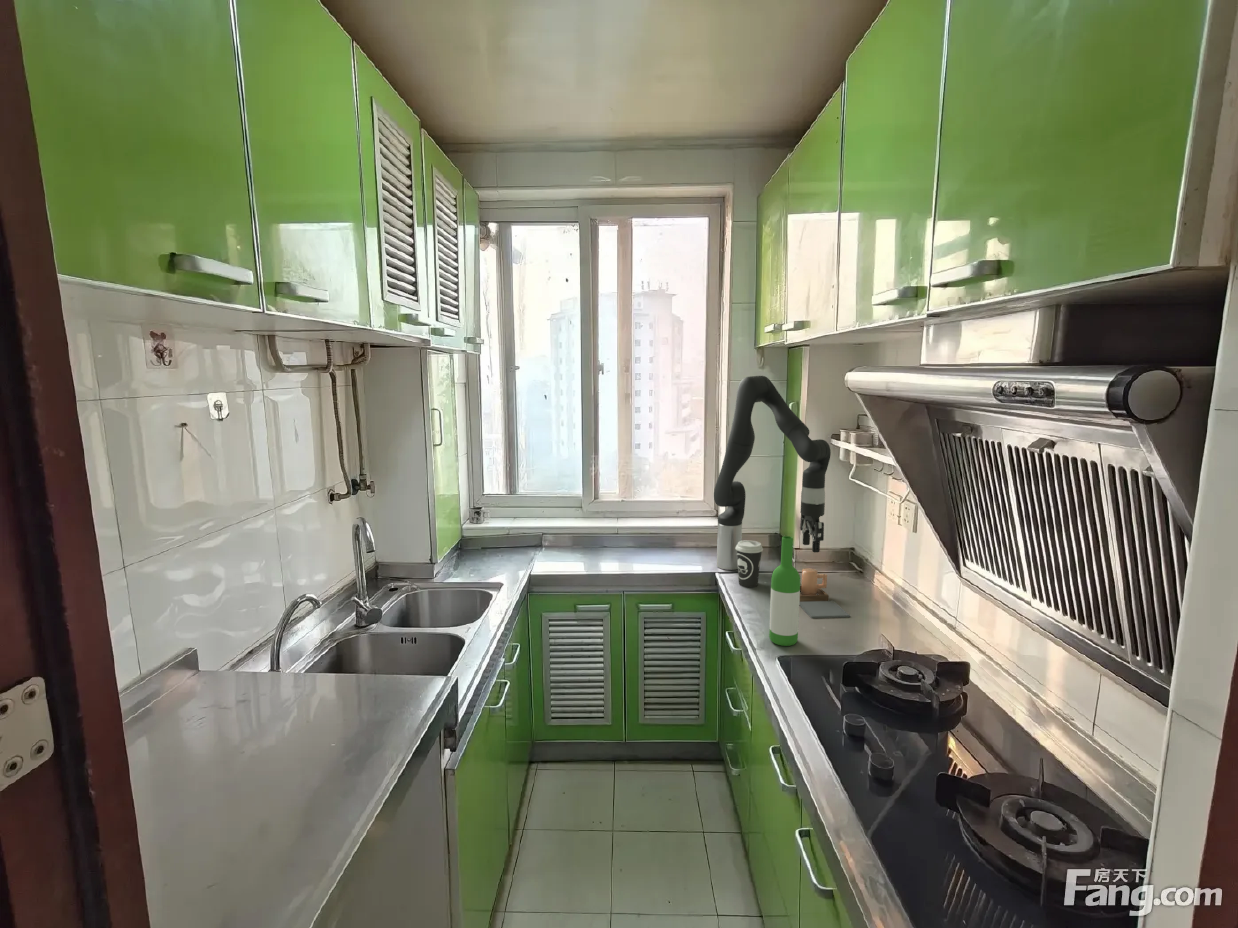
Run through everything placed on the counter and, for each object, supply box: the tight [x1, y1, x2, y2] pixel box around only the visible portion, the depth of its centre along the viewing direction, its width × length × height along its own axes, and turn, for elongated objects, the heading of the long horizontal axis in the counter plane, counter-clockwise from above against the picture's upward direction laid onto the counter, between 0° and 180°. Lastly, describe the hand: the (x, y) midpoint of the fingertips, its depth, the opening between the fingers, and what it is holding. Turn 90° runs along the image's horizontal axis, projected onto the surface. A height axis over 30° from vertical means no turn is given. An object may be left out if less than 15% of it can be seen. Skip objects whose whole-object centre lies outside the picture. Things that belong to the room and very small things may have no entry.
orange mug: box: [800, 567, 828, 595], centre depth 203 cm, size 8×5×9 cm, turn 94°
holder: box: [799, 585, 830, 602], centre depth 204 cm, size 10×10×2 cm
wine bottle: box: [768, 535, 801, 647], centre depth 168 cm, size 8×8×30 cm
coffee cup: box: [735, 539, 764, 588], centre depth 214 cm, size 10×10×15 cm
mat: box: [799, 600, 851, 619], centre depth 192 cm, size 12×12×1 cm
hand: (810, 548), depth 201 cm, fingers open, 8 cm apart
